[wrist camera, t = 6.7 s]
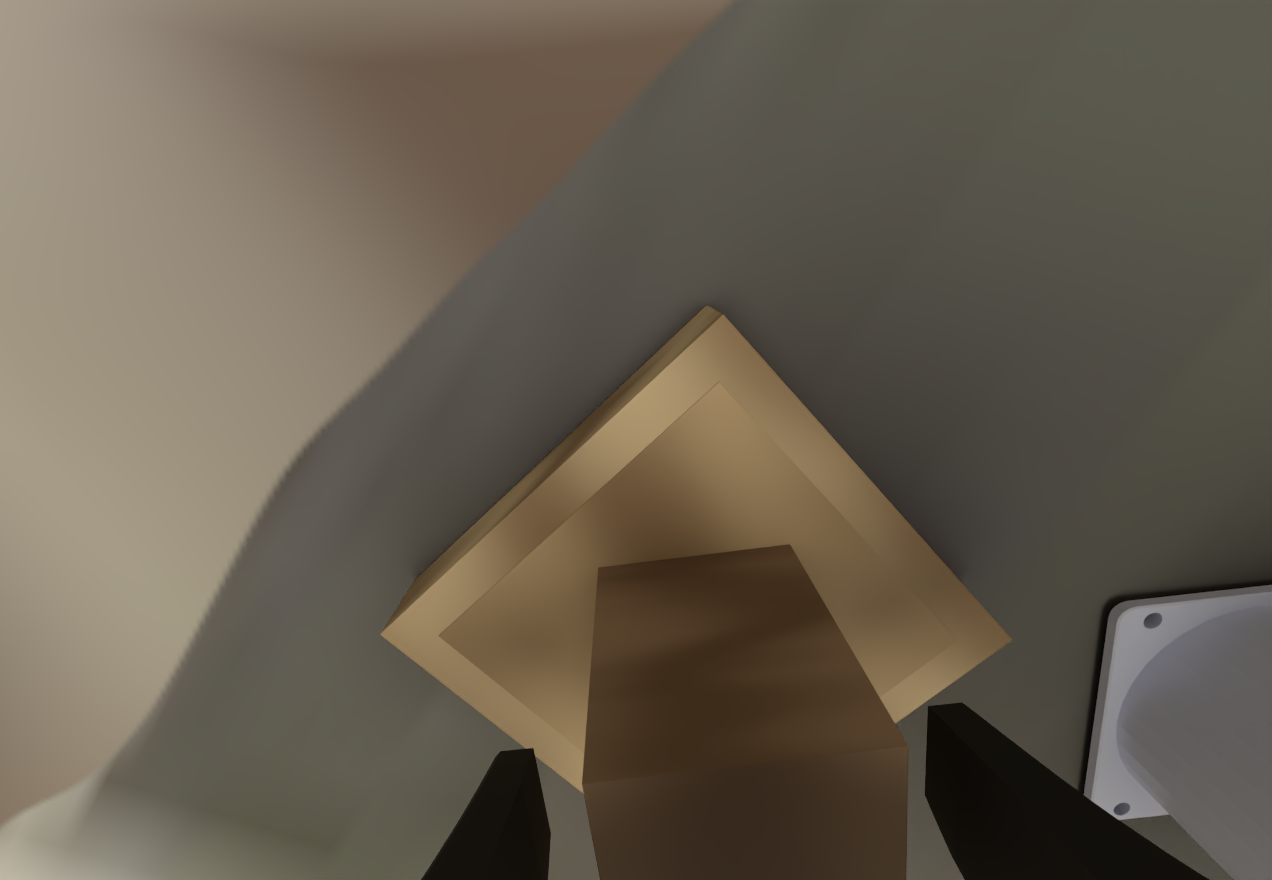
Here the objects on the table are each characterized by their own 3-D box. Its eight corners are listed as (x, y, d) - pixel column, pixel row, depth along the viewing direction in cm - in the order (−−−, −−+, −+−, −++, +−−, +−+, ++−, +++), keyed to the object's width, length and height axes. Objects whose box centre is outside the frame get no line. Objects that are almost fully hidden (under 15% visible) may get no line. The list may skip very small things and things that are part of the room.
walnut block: (789, 543, 14) (908, 745, 8) (798, 702, 15) (904, 971, 10) (597, 567, 14) (581, 783, 8) (622, 722, 15) (624, 1003, 10)
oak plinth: (706, 305, 15) (723, 314, 12) (958, 586, 17) (1014, 641, 15) (414, 580, 17) (379, 635, 14) (677, 797, 19) (685, 874, 17)
